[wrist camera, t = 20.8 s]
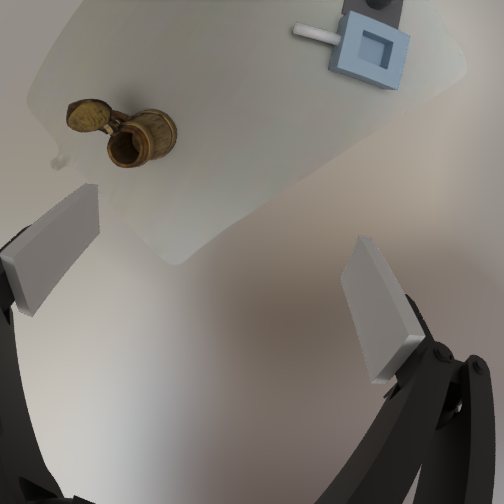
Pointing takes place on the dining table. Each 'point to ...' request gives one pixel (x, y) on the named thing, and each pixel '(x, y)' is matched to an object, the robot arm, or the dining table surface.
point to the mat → (376, 11)
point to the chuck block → (364, 49)
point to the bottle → (379, 3)
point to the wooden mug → (125, 131)
